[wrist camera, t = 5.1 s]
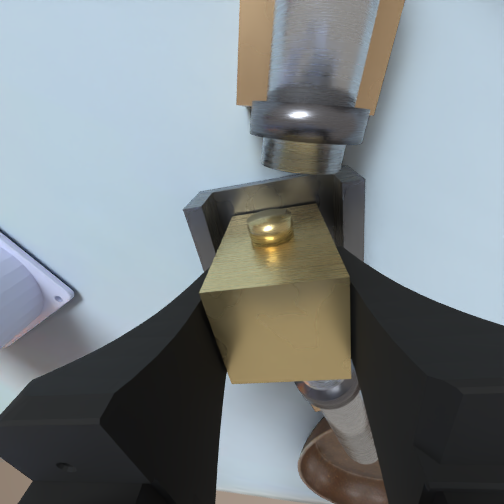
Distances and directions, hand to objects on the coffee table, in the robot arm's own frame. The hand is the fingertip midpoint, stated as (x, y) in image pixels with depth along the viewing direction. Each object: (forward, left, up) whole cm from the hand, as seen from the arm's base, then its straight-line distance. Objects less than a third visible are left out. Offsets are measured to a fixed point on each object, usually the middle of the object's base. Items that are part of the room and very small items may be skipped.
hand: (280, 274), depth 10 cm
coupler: (0, 0, -3) cm, 3 cm away
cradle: (0, 0, -3) cm, 3 cm away
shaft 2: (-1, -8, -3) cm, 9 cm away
